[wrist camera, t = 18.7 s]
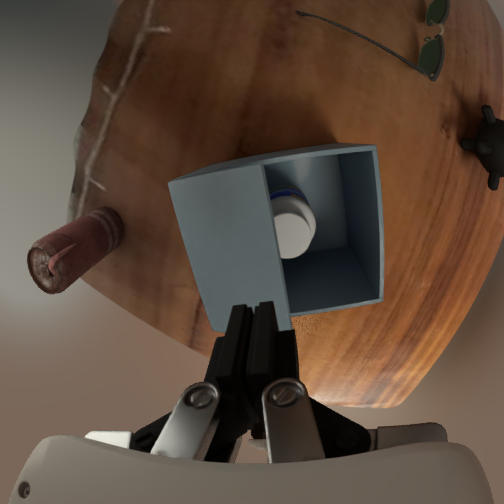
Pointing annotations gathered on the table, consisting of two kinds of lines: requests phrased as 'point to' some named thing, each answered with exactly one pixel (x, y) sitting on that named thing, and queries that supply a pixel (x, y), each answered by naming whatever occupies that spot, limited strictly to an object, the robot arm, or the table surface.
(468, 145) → the toy ball
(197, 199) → the flap
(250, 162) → the carton
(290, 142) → the table surface
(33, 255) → the can
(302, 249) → the pill bottle
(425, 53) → the sunglasses
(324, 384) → the table surface
